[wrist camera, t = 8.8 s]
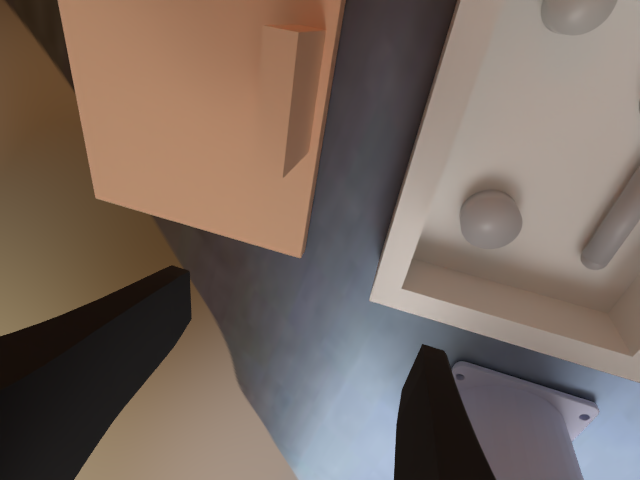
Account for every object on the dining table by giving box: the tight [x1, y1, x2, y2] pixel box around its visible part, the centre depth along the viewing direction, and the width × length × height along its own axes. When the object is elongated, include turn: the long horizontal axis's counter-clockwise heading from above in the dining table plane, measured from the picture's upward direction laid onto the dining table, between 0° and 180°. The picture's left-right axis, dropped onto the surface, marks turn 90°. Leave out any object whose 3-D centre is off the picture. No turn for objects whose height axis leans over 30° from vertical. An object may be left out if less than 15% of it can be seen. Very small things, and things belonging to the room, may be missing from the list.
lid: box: [58, 0, 346, 258], centre depth 16 cm, size 17×13×5 cm
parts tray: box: [369, 0, 640, 383], centre depth 14 cm, size 16×12×4 cm
